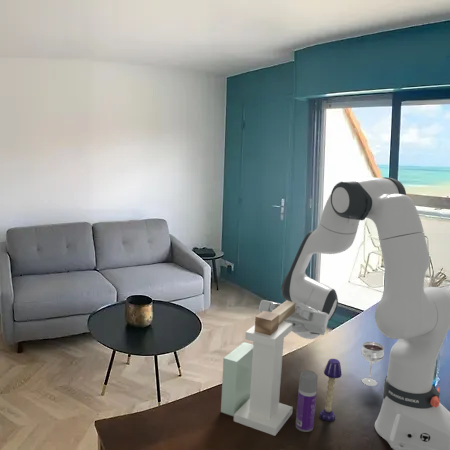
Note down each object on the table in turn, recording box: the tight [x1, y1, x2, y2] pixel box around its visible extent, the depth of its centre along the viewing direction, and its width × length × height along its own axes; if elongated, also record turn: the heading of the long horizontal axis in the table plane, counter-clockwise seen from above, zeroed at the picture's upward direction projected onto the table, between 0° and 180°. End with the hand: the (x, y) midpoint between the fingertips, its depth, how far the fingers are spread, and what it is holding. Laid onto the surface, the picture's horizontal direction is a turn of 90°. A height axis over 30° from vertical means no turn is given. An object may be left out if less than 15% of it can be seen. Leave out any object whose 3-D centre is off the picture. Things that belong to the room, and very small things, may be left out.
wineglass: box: [361, 341, 385, 387], centre depth 161 cm, size 7×7×12 cm
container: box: [295, 370, 319, 433], centre depth 136 cm, size 5×5×15 cm
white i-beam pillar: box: [233, 321, 294, 436], centre depth 138 cm, size 12×12×26 cm
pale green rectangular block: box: [220, 341, 253, 417], centre depth 145 cm, size 4×12×16 cm, turn 152°
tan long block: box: [254, 300, 296, 335], centre depth 139 cm, size 4×19×4 cm, turn 152°
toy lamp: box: [318, 358, 343, 422], centre depth 141 cm, size 5×5×17 cm
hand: (285, 308), depth 144 cm, fingers open, 6 cm apart
